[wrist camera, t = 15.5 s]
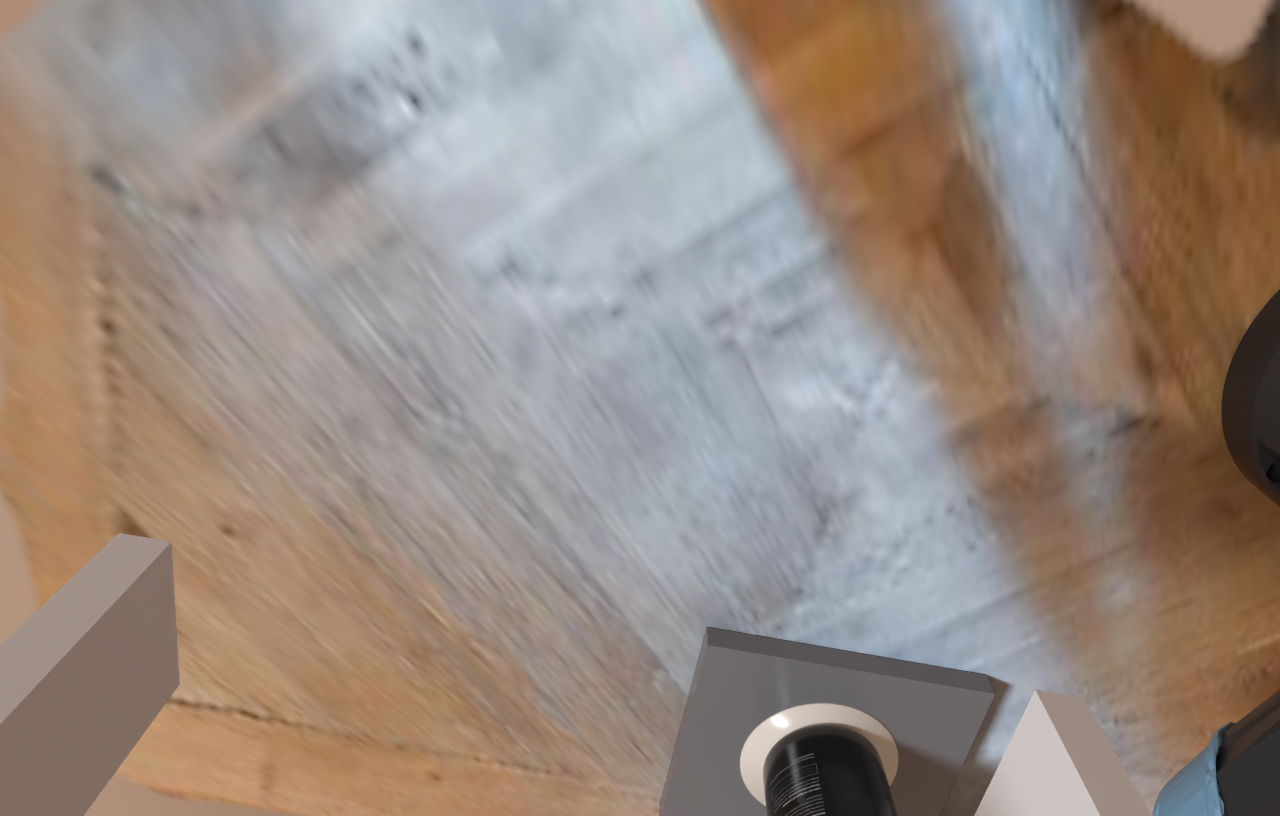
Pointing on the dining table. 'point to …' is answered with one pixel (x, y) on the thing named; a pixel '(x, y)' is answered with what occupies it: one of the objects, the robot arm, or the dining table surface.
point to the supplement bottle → (826, 775)
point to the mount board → (817, 721)
